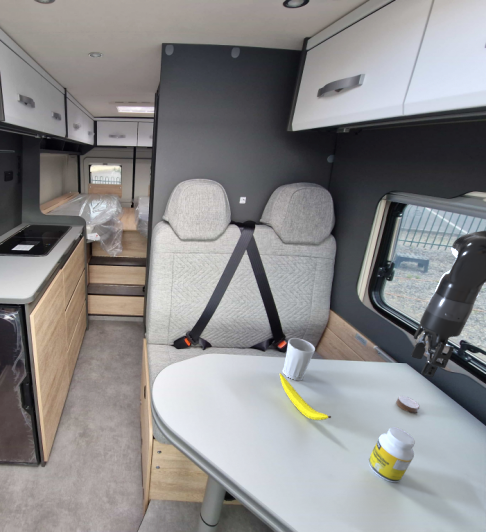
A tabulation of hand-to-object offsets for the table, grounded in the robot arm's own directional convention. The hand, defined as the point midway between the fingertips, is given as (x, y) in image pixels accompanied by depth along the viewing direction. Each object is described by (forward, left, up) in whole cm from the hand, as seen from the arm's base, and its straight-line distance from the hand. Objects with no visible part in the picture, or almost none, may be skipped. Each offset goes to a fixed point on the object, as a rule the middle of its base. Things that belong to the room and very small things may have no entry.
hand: (420, 366), depth 82 cm
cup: (+27, -7, -20) cm, 34 cm away
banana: (+25, +9, -20) cm, 33 cm away
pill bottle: (+6, +20, -20) cm, 29 cm away
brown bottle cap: (-5, -10, -20) cm, 23 cm away
